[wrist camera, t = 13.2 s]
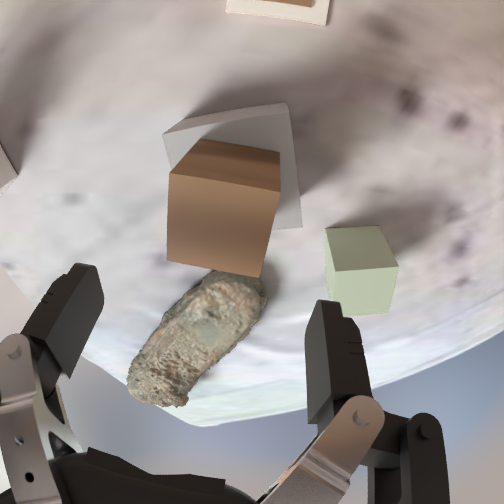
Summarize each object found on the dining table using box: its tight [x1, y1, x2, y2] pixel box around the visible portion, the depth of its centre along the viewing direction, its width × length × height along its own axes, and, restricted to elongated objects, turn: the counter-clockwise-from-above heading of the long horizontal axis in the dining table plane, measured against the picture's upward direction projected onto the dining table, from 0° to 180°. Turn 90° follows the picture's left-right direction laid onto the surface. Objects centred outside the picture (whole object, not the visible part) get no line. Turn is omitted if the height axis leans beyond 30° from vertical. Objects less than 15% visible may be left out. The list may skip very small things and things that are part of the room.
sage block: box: [325, 225, 399, 317], centre depth 25 cm, size 5×5×6 cm
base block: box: [162, 102, 303, 230], centre depth 21 cm, size 8×8×5 cm
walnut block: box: [167, 138, 281, 278], centre depth 17 cm, size 5×5×6 cm
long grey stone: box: [127, 270, 268, 408], centre depth 37 cm, size 35×5×10 cm
